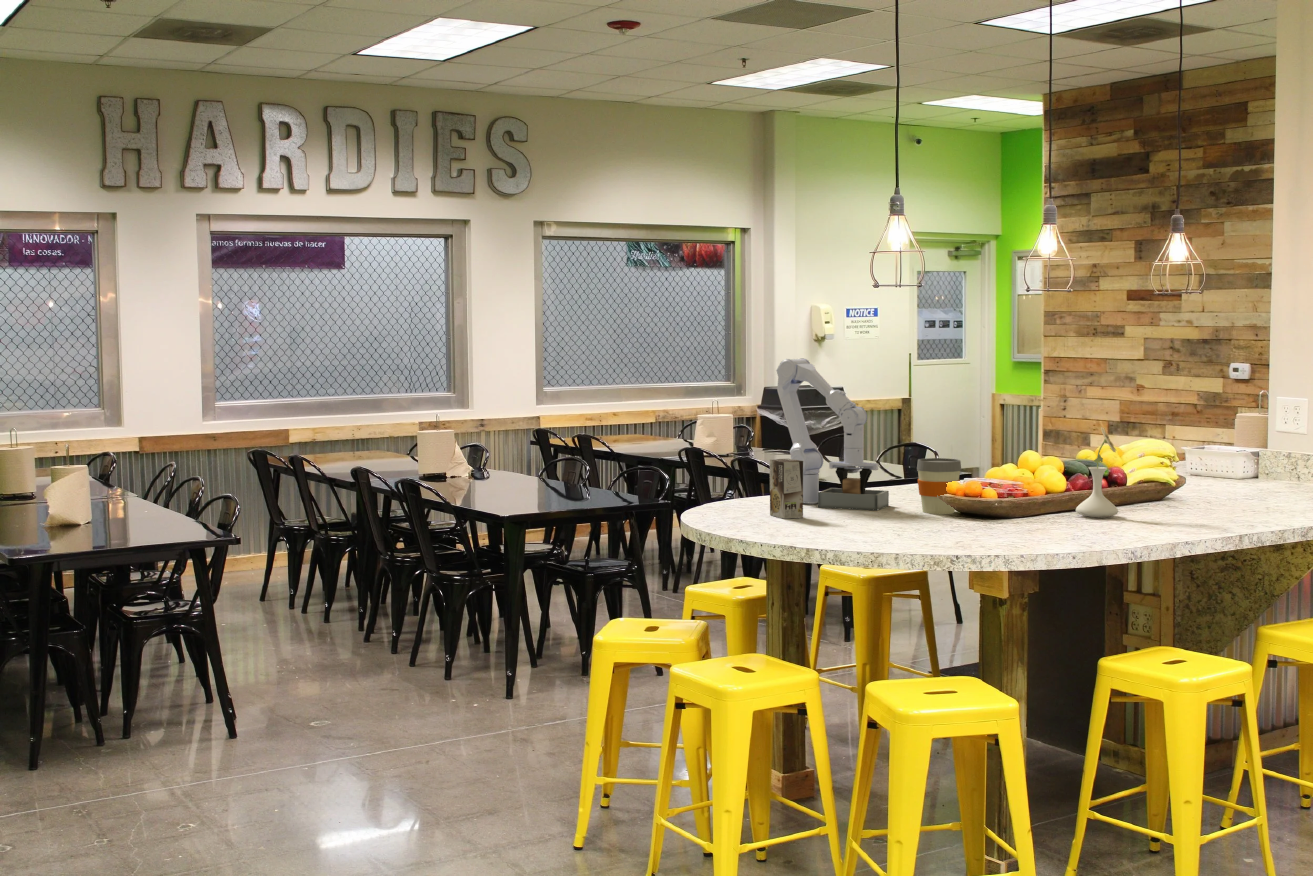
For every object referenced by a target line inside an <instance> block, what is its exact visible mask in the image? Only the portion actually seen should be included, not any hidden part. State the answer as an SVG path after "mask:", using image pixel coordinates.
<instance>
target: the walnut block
mask: <svg viewBox="0 0 1313 876" xmlns="http://www.w3.org/2000/svg"><path fill="white" fill-rule="evenodd" d="M860 485H861V483H860V477H847V478H846V479H844V480H843V493H849V494H861V490H860Z"/></svg>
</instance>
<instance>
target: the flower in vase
mask: <svg viewBox="0 0 1313 876" xmlns="http://www.w3.org/2000/svg"><path fill="white" fill-rule="evenodd" d="M1100 430H1101V433H1102V435H1103V437H1104V440H1103V442H1102V443H1101V445H1100V447H1099V450H1098V452H1097V457H1096V458H1095V459H1094V460H1093V462H1094V463H1095V464H1096V466H1088V470H1089V471H1090V473H1091V476H1092V484H1093V486H1092V493H1091V494H1090V495H1089V497H1087V498H1086V499H1084V500H1083V501H1082V502H1080V504H1078V506H1076V508H1075V513H1077V514H1079V515H1082V516H1083V517H1084V516H1085V517H1090V518H1108V517H1112V516H1113V517H1114V516H1116V515H1118V513H1119V509H1118V508H1117V506H1115V504H1113V502H1111V501H1110V500H1109V499H1108V498H1107V497H1105V496H1104V494H1103V491H1102V489H1103V488H1102V487H1103V485H1102V484H1103V482H1102V481H1103V478H1104V475H1105V472H1106V471H1107V470H1108V467H1104V466H1099V463H1100V462H1101V463H1103V462H1104V461H1103V460H1104V458H1103V457H1102V456H1101V454H1100V452H1101V450H1102V448H1103V446H1104V444H1107V445H1108V446H1109V448H1110V450H1111V451H1112V452H1113V453H1116V451H1117V449H1116V447H1115V445H1114V444H1113V442H1112V441H1111V439H1110V436H1109V434H1108V433H1107V432H1106V430H1105V428H1104V427H1102V426H1101V427H1100Z"/></svg>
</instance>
